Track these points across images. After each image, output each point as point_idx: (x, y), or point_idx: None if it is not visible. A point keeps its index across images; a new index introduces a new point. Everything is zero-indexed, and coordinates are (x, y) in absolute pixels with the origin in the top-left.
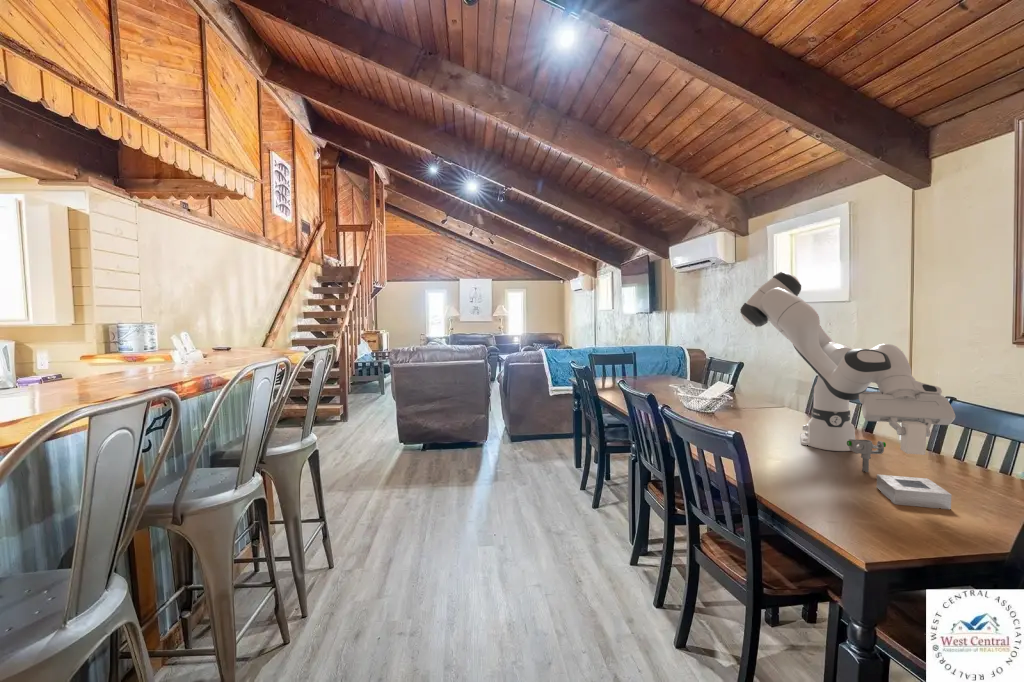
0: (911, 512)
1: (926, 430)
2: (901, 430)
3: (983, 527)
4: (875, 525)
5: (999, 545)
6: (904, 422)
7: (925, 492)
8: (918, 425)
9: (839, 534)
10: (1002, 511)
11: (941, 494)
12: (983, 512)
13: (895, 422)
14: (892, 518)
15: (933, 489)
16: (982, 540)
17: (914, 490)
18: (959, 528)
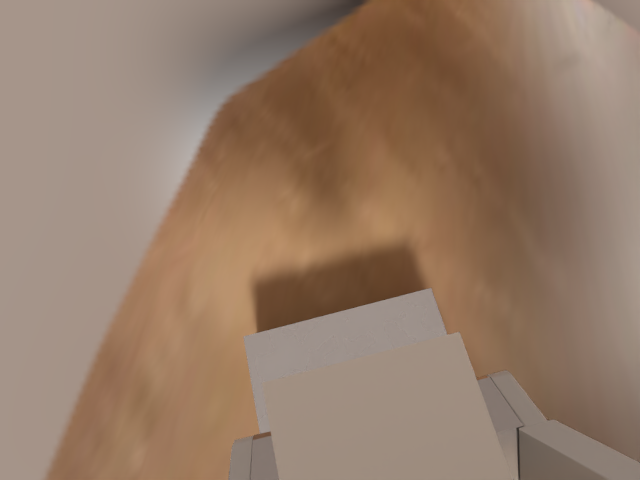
0: (376, 246)
1: (262, 463)
2: (496, 382)
3: (212, 225)
4: (468, 94)
5: (217, 122)
6: (502, 452)
7: (328, 314)
8: (348, 360)
9: (537, 3)
10: (101, 419)
11: (276, 328)
12: (166, 371)
13: (608, 463)
14: (429, 166)
15: (294, 369)
16: (244, 132)
17: (364, 314)
18: (274, 184)
